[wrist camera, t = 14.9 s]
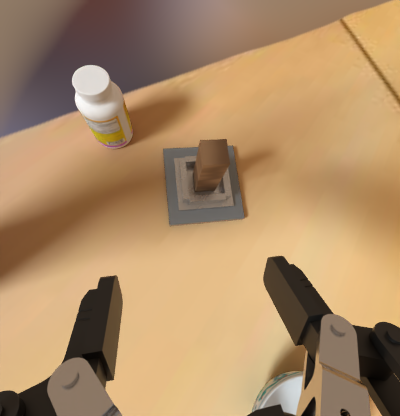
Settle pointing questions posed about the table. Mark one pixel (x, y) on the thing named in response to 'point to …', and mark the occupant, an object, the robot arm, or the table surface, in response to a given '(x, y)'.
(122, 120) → the supplement bottle
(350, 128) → the table surface
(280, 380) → the chinaware
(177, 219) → the coaster
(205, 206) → the open square frame
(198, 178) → the brown wooden block
